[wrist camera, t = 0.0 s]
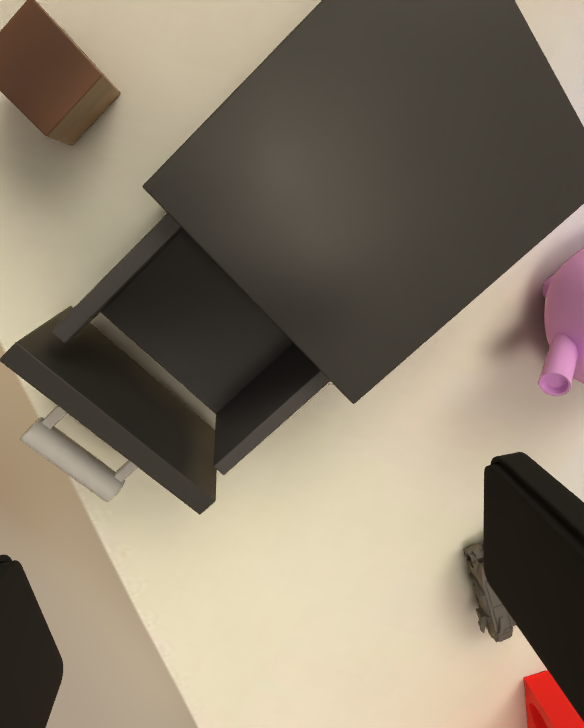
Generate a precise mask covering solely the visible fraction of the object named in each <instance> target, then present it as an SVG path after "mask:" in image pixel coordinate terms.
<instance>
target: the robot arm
mask: <svg viewBox="0 0 584 728" xmlns="http://www.w3.org/2000/svg"><path fill="white" fill-rule="evenodd" d="M483 568H484V573H485V576H486V579H487V581H488V583H489V585H490V587H491V588H492V590H493V591H494V593H495V594H496V595H497V597H498V598H499V600H500V601H501V603H502V604H503V606H504V607H505V609H506V610H507V611H508V613H509V614H510V616H511V617H512V619H513V620H514V622H515V623H516V625H517V626H518V627H519V629H520V630H521V632H522V633H523V635H524V636H525V638H526V639H527V641H528V642H529V643H530V645H531V646H532V648H533V649H534V651H535V652H536V654H537V655H538V657H539V658H540V659H541V661H542V662H543V664H544V665H545V667H546V668H547V670H548V671H549V673H550V674H551V675H552V677H553V678H554V680H555V681H556V683H557V684H558V686H559V687H560V688H561V690H562V691H563V693H564V694H565V696H566V697H567V699H568V700H569V702H570V703H571V704H572V706H573V707H574V709H575V710H576V712H577V713H578V715H579V716H580V718H581V719H582V720H583V722H584V502H582V501H581V500H580V499H579V498H578V497H577V496H575V495H574V494H573V493H572V492H571V491H569V490H568V489H567V488H566V487H565V486H563V485H562V484H561V483H560V482H559V481H557V480H556V479H555V478H554V477H553V476H552V475H550V474H549V473H548V472H547V471H546V470H544V469H543V468H542V467H541V466H540V465H538V464H537V463H536V462H535V461H534V460H532V459H531V458H530V457H529V456H528V455H526V454H525V453H523V452H517V453H512V454H507V455H502V456H497V457H494V458H493V459H492V461H491V465H489V466H486V468H485V471H484V545H483ZM62 676H63V661H62V658H61V655H60V653H59V651H58V648H57V646H56V644H55V642H54V639H53V637H52V635H51V632H50V630H49V628H48V625H47V623H46V621H45V618H44V616H43V614H42V611H41V609H40V607H39V605H38V602H37V600H36V597H35V595H34V593H33V591H32V588H31V586H30V584H29V581H28V579H27V577H26V574H25V572H24V570H23V567H22V565H21V564H20V563H19V562H18V561H15V560H14V561H12V560H11V558H10V557H9V556H7V555H0V728H45V727H46V725H47V722H48V719H49V716H50V713H51V710H52V707H53V704H54V701H55V698H56V695H57V692H58V690H59V687H60V684H61V680H62Z"/></svg>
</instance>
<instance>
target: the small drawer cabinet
mask: <svg viewBox="0 0 584 728" xmlns="http://www.w3.org/2000/svg"><path fill="white" fill-rule="evenodd" d="M143 188H144V189H145V190H146V191H147V192H148V193H149V194H150V195H151V196H152V197H153V198H154V199H155V200H156V202H157V203H158V204H159V205H160V206H161V207H162V208H163V209H164V210H165V211H166V212H167V213H168V214H169V215H170V216H171V217H172V218H173V219H174V220H175V221H176V222H177V223H178V224H179V225H180V226H181V227H182V228H183V229H184V230H185V231H186V232H187V233H188V234H189V236H190V237H191V238H192V239H193V240H194V241H195V242H196V243H197V244H198V245H199V246H200V247H201V248H202V249H203V250H204V251H205V252H206V253H207V254H208V255H209V256H210V257H211V258H212V259H213V260H214V261H215V262H216V263H217V264H218V265H219V266H220V267H221V268H222V270H223V271H224V272H225V273H226V274H227V275H228V276H229V277H230V278H231V279H232V280H233V281H234V282H235V283H236V284H237V285H238V286H239V287H240V288H241V289H242V290H243V291H244V292H245V293H246V294H247V295H248V296H249V297H250V298H251V299H252V300H253V301H254V303H255V304H256V305H257V306H258V307H259V308H260V309H261V310H262V311H263V312H264V313H265V314H266V315H267V316H268V317H269V318H270V319H271V320H272V321H273V322H274V323H275V324H276V325H277V326H278V327H279V328H280V329H281V330H282V331H283V332H284V333H285V334H286V335H287V337H288V338H289V339H290V340H291V341H292V342H293V343H294V344H295V345H296V346H297V347H298V348H299V349H300V350H301V351H302V352H303V353H304V354H305V355H306V356H307V357H308V358H309V359H310V360H311V361H312V362H313V363H314V364H315V365H316V366H317V367H318V368H319V369H320V371H321V372H322V373H323V374H324V375H325V376H326V377H327V378H328V379H329V380H330V381H331V382H332V383H333V384H334V385H335V386H336V387H337V388H338V389H339V390H340V391H341V392H342V393H343V394H344V395H345V396H346V397H347V398H348V399H349V400H350V401H351V402H352V403H353V404H354V403H356V402H357V401H358V400H359V399H360V398H361V397H363V396H364V395H365V394H366V393H367V392H368V391H369V390H371V389H372V388H373V387H374V386H375V385H376V384H377V383H379V382H380V381H381V380H382V379H383V378H384V377H385V376H387V375H388V374H389V373H390V372H391V371H392V370H393V369H395V368H396V367H397V366H398V365H399V364H400V363H401V362H403V361H404V360H405V359H406V358H407V357H408V356H410V355H411V354H412V353H413V352H414V351H415V350H416V349H418V348H419V347H420V346H421V345H422V344H423V343H424V342H426V341H427V340H428V339H429V338H430V337H431V336H432V335H434V334H435V333H436V332H437V331H438V330H439V329H440V328H442V327H443V326H444V325H445V324H446V323H447V322H449V321H450V320H451V319H452V318H453V317H454V316H455V315H457V314H458V313H459V312H460V311H461V310H462V309H463V308H465V307H466V306H467V305H468V304H469V303H470V302H471V301H473V300H474V299H475V298H476V297H477V296H478V295H479V294H481V293H482V292H483V291H484V290H485V289H486V288H487V287H489V286H490V285H491V284H492V283H493V282H494V281H496V280H497V279H498V278H499V277H500V276H501V275H502V274H504V273H505V272H506V271H507V270H508V269H509V268H510V267H512V266H513V265H514V264H515V263H516V262H517V261H518V260H520V259H521V258H522V257H523V256H524V255H525V254H526V253H528V252H529V251H530V250H531V249H532V248H533V247H534V246H536V245H537V244H538V243H539V242H540V241H541V240H543V239H544V238H545V237H546V236H547V235H548V234H549V233H551V232H552V231H553V230H554V229H555V228H556V227H557V226H559V225H560V224H561V223H562V222H563V221H564V220H565V219H567V218H568V217H569V216H570V215H571V214H572V213H573V212H575V211H576V210H577V209H578V208H579V207H580V206H581V205H583V204H584V127H583V125H582V123H581V121H580V119H579V118H578V116H577V114H576V112H575V110H574V108H573V107H572V105H571V103H570V101H569V99H568V97H567V96H566V94H565V92H564V90H563V88H562V86H561V85H560V83H559V81H558V79H557V77H556V75H555V74H554V72H553V70H552V68H551V66H550V64H549V63H548V61H547V59H546V57H545V55H544V53H543V52H542V50H541V48H540V46H539V44H538V42H537V41H536V39H535V37H534V35H533V33H532V31H531V30H530V28H529V26H528V24H527V22H526V20H525V19H524V17H523V15H522V13H521V11H520V9H519V8H518V6H517V4H516V2H515V0H322V1H321V2H320V3H319V4H318V5H317V6H316V7H315V8H314V9H313V10H312V11H311V12H310V13H309V14H308V15H307V16H306V17H305V19H304V20H303V21H302V22H301V23H300V24H299V25H298V26H297V27H296V28H295V29H294V30H293V31H292V32H291V33H290V34H289V35H288V36H287V37H286V38H285V39H284V40H283V41H282V42H281V43H280V44H279V45H278V46H277V47H276V48H275V50H274V51H273V52H272V53H271V54H270V55H269V56H268V57H267V58H266V59H265V60H264V61H263V62H262V63H261V64H260V65H259V66H258V67H257V68H256V69H255V70H254V71H253V72H252V73H251V74H250V75H249V76H248V77H247V78H246V80H245V81H244V82H243V83H242V84H241V85H240V86H239V87H238V88H237V89H236V90H235V91H234V92H233V93H232V94H231V95H230V96H229V97H228V98H227V99H226V100H225V101H224V102H223V103H222V104H221V105H220V106H219V107H218V108H217V109H216V111H215V112H214V113H213V114H212V115H211V116H210V117H209V118H208V119H207V120H206V121H205V122H204V123H203V124H202V125H201V126H200V127H199V128H198V129H197V130H196V131H195V132H194V133H193V134H192V135H191V136H190V137H189V138H188V139H187V140H186V142H185V143H184V144H183V145H182V146H181V147H180V148H179V149H178V150H177V151H176V152H175V153H174V154H173V155H172V156H171V157H170V158H169V159H168V160H167V161H166V162H165V163H164V164H163V165H162V166H161V167H160V168H159V169H158V170H157V172H156V173H155V174H154V175H153V176H152V177H151V178H150V179H149V180H148V181H147V182H146V183H145V184H144V185H143Z"/></svg>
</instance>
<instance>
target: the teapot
mask: <svg viewBox="0 0 584 728" xmlns="http://www.w3.org/2000/svg"><path fill="white" fill-rule="evenodd" d="M543 295H544V296H545V298H546V300H545V312H544V320H545V330H546V335H547V340H548V343H549V346H550V348H549V351H548V354H547V357H546V360H545V363H544V366H543V369H542V372H541V375H540V378H539V381H538V385H539V388H540V389H541V390H542V391H543V392H545V393H546V394H549V395H553V396H560V395H564V394H566V393H567V392H569V390H570V388H571V384H572V380H573V378H574V379H576V380H578V381H580V382H582V383H584V248H583V249H582V250H580V251H579V252H577V253H576V254H575V255H574V256H572V257H571V258H570V259H569V260H567V261H566V262H565V263H564V264H563V265H562V267H561V268H560V269H559V270H558V271H557V273H556V274H555V275H552V276H551V277H549V278H548V279H547V280H546V281H545V283H544V285H543Z"/></svg>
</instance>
